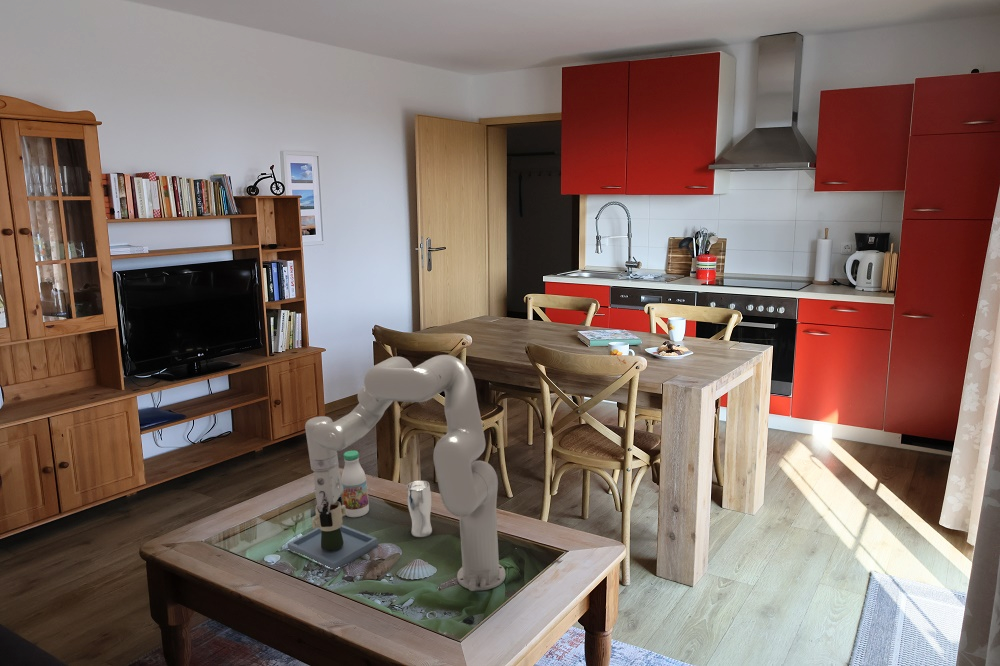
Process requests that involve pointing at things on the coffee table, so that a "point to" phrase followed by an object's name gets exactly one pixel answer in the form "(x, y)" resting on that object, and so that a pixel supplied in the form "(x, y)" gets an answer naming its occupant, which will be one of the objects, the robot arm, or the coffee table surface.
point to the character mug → (331, 535)
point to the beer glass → (419, 507)
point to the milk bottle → (354, 486)
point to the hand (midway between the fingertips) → (332, 518)
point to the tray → (349, 552)
